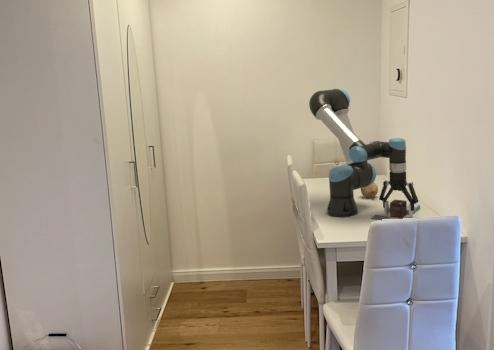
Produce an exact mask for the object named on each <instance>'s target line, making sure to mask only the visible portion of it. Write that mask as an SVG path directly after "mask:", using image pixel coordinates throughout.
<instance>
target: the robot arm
mask: <svg viewBox="0 0 494 350" xmlns="http://www.w3.org/2000/svg"><path fill="white" fill-rule="evenodd" d="M350 103H351V99H350V96H349V94H348V92H346V90H344V89H342V88H333V89H326V90H325V89H324V90H318V91H315V92H314V93H313V94H312V95H311V97H310V99H309V103H308V106H309V110H310V112H311V114H312V115H313V117H314V118H315V119H316V120H318V121H321V123H323V125H325V126H326V128H328V129H329V130H330V132H331V134H332V135H334V136H335V137H336V139H338V142H339V145H340V148H341V151H342V153H343V156H344V159H345V164H344V165H337V166H334V167H332V168H331V169H330V170H329V173H328V175H329V176H328V181H329V182H328V183H329V201H328V205H327V208H326V211H327V215H329V216H331V215H332V217H336V218H337V217H339V218H344V217H353V216H355V215H357V214H358V213H359V211H358V210H359V209H358V205H357V203H356V200H355V198H354V197H355V196H354V191H355V190H359V189H361V188H363V187H367V186H369V185H371V184H372V183H373V182H374V183H375V180H376V178H377V171H376V167H375V166H374V164H372V163H369V162H368V161H369V160H376V159H379V158H385V159H386V158H387V159H388V160H389V161H388V163H389V166H388V167H389V180H385V181H382V182H383V183H382V185H383V187H382V189H381V191H380V195H379V198H378V200H379V201H381V202H382V207H383V209H384V208H385V212H384V216H388V215H390V212H389V204H390V202H389V200H388V199H389V198H390V196H391V194H392V193H393V192H394V191H399V192H402V194H404V196H405V198H406V199H407V202H409V203H408V204H409V215H408V218H409V219H411V218H412V217H414V216H413V215H414V214H413V211H414V204H416V205H417V203H419V198H418V196H417V193H416V190H415V188H414V183H413V182H412V181H411V182H407V172H406V171H407V158H406V156H407V154H406V153H407V145H406V143H407V142H406V139H404V138H402V137H393V138H390V139H389V140H388V141H380V140H374V141H373V140H372V141H370V143H364V141H362V139H361V138H359V136H358V135H356V133H355V132H354V129H353V127H352V124H351V121H350V117H349V116H348V113H349V111H350V108H349V107H350V105H351V104H350ZM388 186H390V188H389V189H388ZM407 187H408V189H409V191H408V189H407ZM387 189H388V192H387ZM385 194H386V195H385Z"/></svg>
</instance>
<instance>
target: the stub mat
mask: <svg viewBox="0 0 494 350" xmlns="http://www.w3.org/2000/svg"><path fill="white" fill-rule="evenodd" d="M387 218H388V219H389V218H390V215H389V216H388V215H382V214H380V215H378V214H375V215H373V216H372V217H370V220H376V221H382V219H387ZM388 219H387V220H388Z"/></svg>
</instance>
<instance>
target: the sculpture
mask: <svg viewBox="0 0 494 350" xmlns="http://www.w3.org/2000/svg"><path fill="white" fill-rule="evenodd" d="M360 192H361V194H362V196H363V197H364V198H368V199H371V198H374V197H376V196H377V195H378V193H379V187H378V185H377V183H376V182H375V181H374V182H373V183H372V184H371V185H369V186H367V187H363V188H360Z"/></svg>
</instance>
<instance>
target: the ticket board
mask: <svg viewBox="0 0 494 350" xmlns="http://www.w3.org/2000/svg"><path fill="white" fill-rule="evenodd" d="M409 204H410V203H407V215H408V214H409ZM420 209H421V205H420V204H417V203H416V204H414V211H413V215H414V214H416V212H418V211H420ZM383 210H384V211H383V212H384V213H385V208H383ZM389 213H390V203H389Z"/></svg>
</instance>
